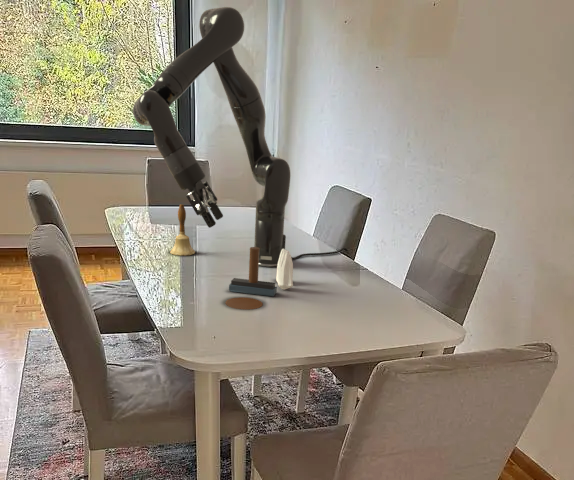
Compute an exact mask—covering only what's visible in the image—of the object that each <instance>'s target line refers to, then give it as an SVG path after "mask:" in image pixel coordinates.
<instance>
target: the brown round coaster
mask: <svg viewBox="0 0 574 480" xmlns="http://www.w3.org/2000/svg"><path fill="white" fill-rule="evenodd" d="M224 304H225V305H226V306H227V307H229V308H232V309H236V310H243V311H245V310H248V311H249V310H256V309H260V308H262V307H263V306H264V305H263V302H262V301H261V300H259V299H256V298H252V297H239V296H238V297H231V298H229V299H227V300H225V303H224Z"/></svg>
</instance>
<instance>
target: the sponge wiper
mask: <svg viewBox="0 0 574 480" xmlns="http://www.w3.org/2000/svg"><path fill="white" fill-rule="evenodd" d="M228 290H229V292H230V293H231V292H232V293H240V294H249V295H256V296H265V297H275V295H276V294H277V291H278V287H277V286H276V282H272V281H264V280H259V248H258V247H254V246H251V247H249V265H248V278H247V279H246V278H240V277H239V278H237V277H233V278H232V279H231V280H230V283H229V284H228Z"/></svg>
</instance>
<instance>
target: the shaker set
mask: <svg viewBox="0 0 574 480" xmlns="http://www.w3.org/2000/svg"><path fill="white" fill-rule="evenodd" d="M291 257H292V255H291V252H290V251H289V250H287V249H286V248H285V249H282V251H281V253H280V257H279V260H278V264H277V266H276V278H275V280H276V282H277V286H278V287H279V288H280V289H282V290H288V289H291V288H292V287H293V286H294V280H293V278H294V263H293V260H292V258H291Z"/></svg>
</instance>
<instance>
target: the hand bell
mask: <svg viewBox="0 0 574 480" xmlns="http://www.w3.org/2000/svg"><path fill="white" fill-rule="evenodd" d="M186 217H187V212H186V208H185V204H183V203H180V204H179V207H178V210H177V219H178V222H179V234H178V235H176V236H175V240H174V241H175V242H174V245H173V247H172V249H171V250H170V251H169V252H170V254H171V255H174V256H182V257H183V256H185V257H186V256H192V255H195V254H196V251H195V250H194V249H193V247H192V245H191V242H190V236H188V235H186V231H185V229H186V228H185V223H186V219H187V218H186Z"/></svg>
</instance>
